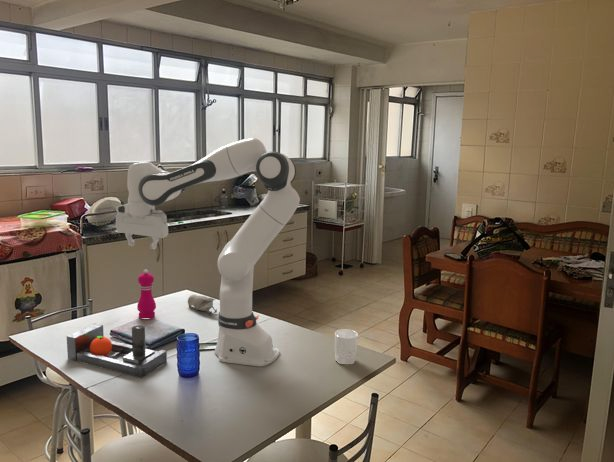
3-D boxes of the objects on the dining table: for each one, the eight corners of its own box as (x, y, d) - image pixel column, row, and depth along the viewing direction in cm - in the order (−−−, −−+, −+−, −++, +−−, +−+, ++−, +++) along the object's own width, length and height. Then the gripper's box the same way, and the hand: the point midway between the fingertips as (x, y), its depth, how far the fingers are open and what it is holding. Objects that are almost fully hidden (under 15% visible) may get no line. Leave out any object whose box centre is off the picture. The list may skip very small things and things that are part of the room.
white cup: (339, 354, 178) (341, 327, 176) (360, 359, 174) (362, 332, 172) (329, 362, 171) (330, 334, 169) (350, 368, 167) (351, 340, 165)
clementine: (85, 355, 169) (84, 335, 168) (106, 349, 174) (105, 330, 173) (95, 363, 164) (94, 343, 162) (116, 357, 168) (115, 337, 167)
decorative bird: (194, 305, 221) (194, 288, 220) (219, 314, 212) (219, 297, 210) (184, 308, 217) (184, 291, 215) (209, 317, 207) (209, 300, 206)
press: (166, 362, 167) (166, 339, 165) (141, 378, 155) (140, 354, 154) (96, 344, 177) (95, 323, 176) (67, 358, 166) (66, 336, 164)
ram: (155, 362, 166) (154, 325, 163) (138, 372, 158) (137, 333, 156) (140, 358, 168) (139, 321, 165) (123, 368, 160) (121, 330, 158)
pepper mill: (159, 315, 207) (158, 268, 203) (149, 321, 200) (148, 272, 197) (144, 312, 209) (143, 266, 205) (133, 318, 202) (132, 270, 198)
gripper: (171, 210, 174) (172, 249, 177) (124, 204, 182) (126, 242, 184) (160, 212, 169) (160, 252, 171) (112, 207, 176) (113, 245, 179)
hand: (142, 247), depth 178 cm, fingers open, 8 cm apart
